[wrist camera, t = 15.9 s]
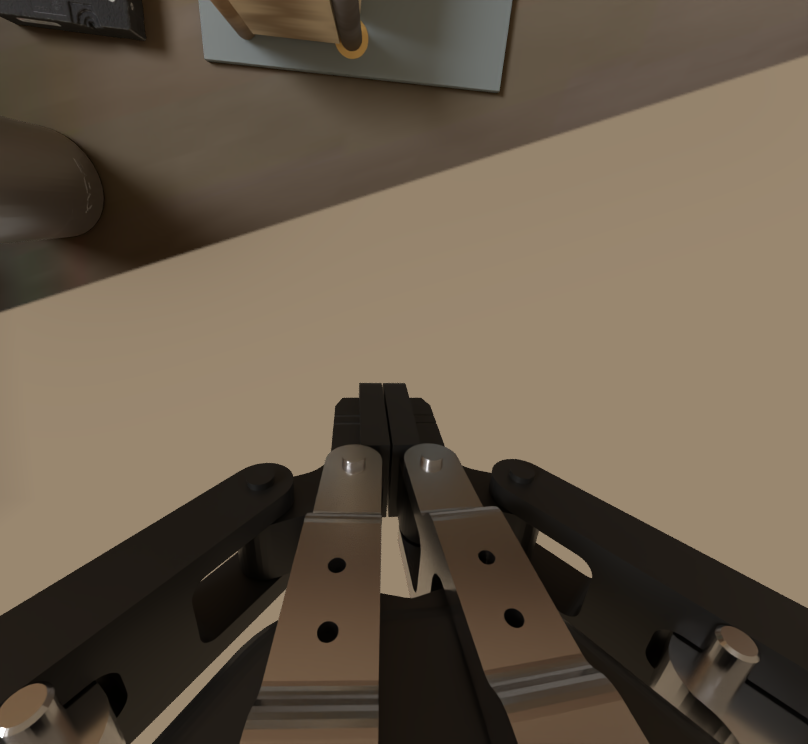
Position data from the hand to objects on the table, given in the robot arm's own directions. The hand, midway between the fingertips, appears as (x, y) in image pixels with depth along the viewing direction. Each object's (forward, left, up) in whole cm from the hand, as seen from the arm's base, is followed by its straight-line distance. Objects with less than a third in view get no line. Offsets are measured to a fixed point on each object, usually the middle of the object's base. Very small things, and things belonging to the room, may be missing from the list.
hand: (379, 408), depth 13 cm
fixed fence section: (-7, +19, -30) cm, 36 cm away
